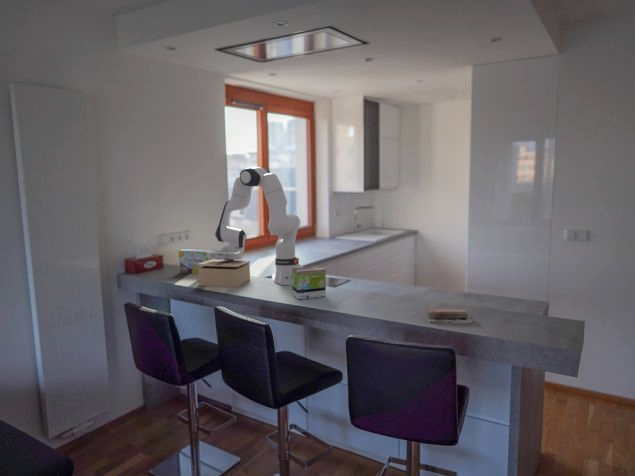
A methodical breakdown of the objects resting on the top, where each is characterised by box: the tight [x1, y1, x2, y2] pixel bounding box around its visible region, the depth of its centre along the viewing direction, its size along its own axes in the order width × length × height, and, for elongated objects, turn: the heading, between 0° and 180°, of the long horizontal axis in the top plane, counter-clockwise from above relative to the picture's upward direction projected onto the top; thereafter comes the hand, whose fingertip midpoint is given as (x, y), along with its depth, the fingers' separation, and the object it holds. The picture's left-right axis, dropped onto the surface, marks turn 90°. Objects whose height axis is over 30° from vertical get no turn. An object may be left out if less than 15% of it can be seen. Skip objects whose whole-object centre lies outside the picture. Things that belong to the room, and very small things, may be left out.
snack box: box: [178, 248, 213, 275], centre depth 299 cm, size 21×6×15 cm, turn 73°
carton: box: [197, 263, 251, 288], centre depth 273 cm, size 24×18×10 cm
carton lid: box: [198, 259, 251, 267], centre depth 272 cm, size 24×19×1 cm
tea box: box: [291, 265, 327, 300], centre depth 240 cm, size 15×10×15 cm
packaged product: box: [426, 308, 473, 323], centre depth 201 cm, size 18×5×10 cm
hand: (218, 257), depth 265 cm, fingers closed
